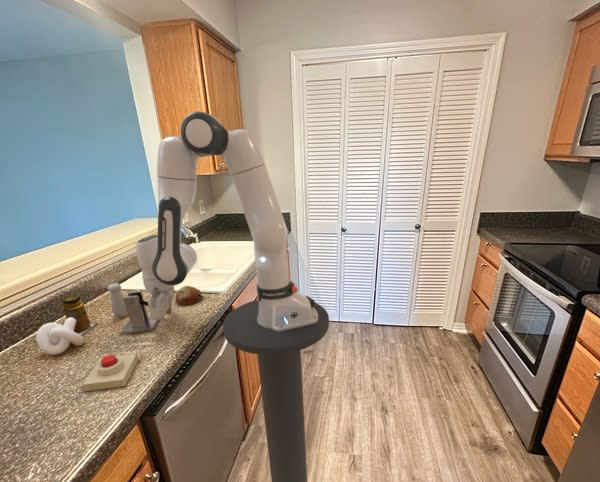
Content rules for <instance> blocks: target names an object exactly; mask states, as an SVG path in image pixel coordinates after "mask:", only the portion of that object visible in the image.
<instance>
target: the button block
mask: <svg viewBox="0 0 600 482" xmlns="http://www.w3.org/2000/svg"><path fill="white" fill-rule="evenodd" d="M115 356H116V360H117V363H116V364H115V365H113V366H110V367H106V368H104V367H103V366H102V363H101V359H102V358H103V357H100V359H99V360H98V361H97V363H95V365H94V367H93V368H92V369H91V372H90V373H89V374H88V376H87V377H86V379H85V380H84V381H83V383H82V385H81V386H82V387H83V390H84V392H91V391H97V390H99V391H100V390H104V389H114V388H121V387H122V388H123V387H125V386H126V385H127V382H128V381H129V379H130V377H131V375H132V373H133V371H134V369H135V368H136V365H137V363H138V361H139V356H138V354H137V353H130V354H122V355H115Z"/></svg>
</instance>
